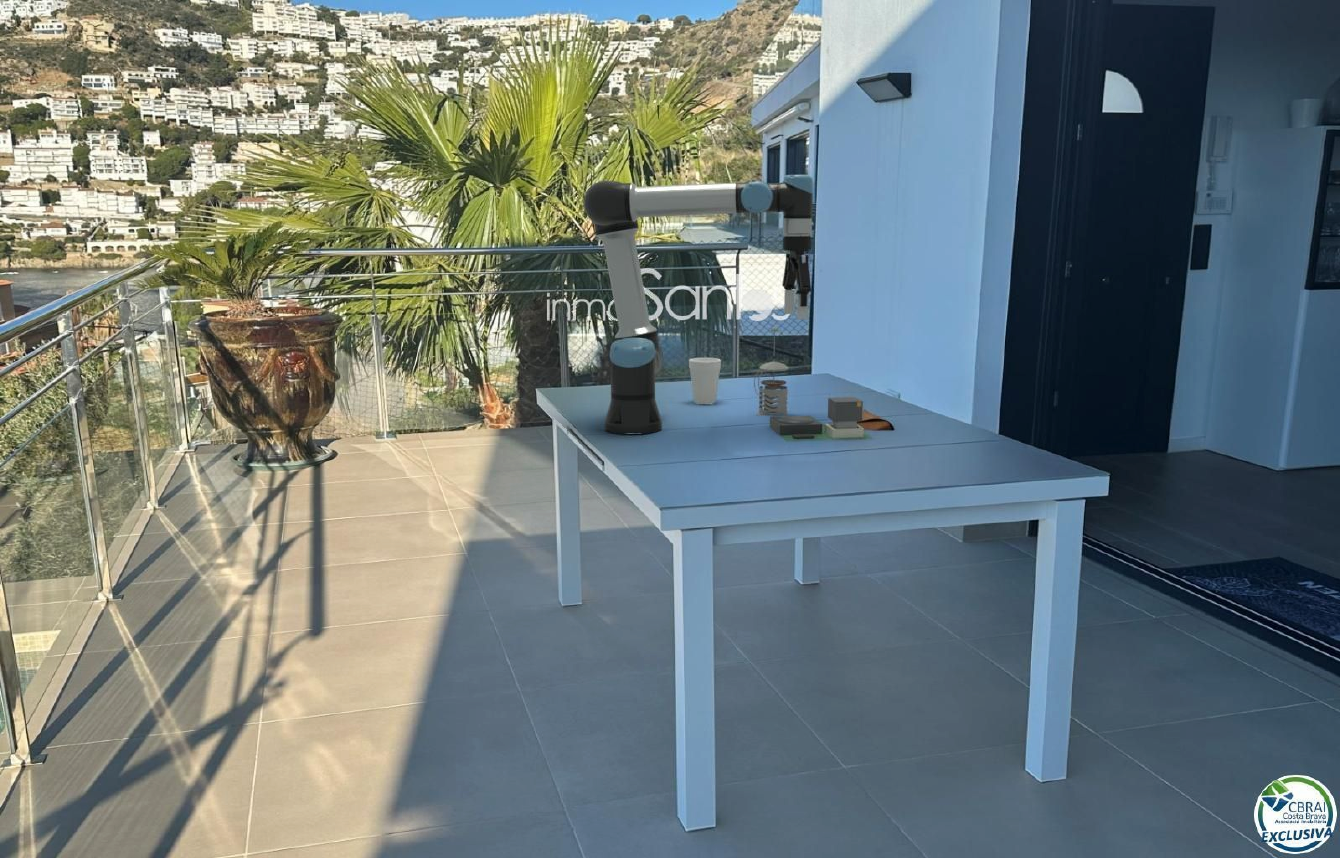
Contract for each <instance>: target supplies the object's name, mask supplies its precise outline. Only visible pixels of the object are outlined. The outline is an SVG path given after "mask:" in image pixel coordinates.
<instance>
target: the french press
mask: <svg viewBox="0 0 1340 858" xmlns="http://www.w3.org/2000/svg"><path fill="white" fill-rule="evenodd" d="M770 331H771V332H773V355H775V351H776V350H775V349H776V348H775V346H776V345H775V344H776V343H775V342H776V339H775V337H776V336H775V335H776V332H779V331H778V328H777V327H776V326H773V327H771V329H770ZM759 369H760V371H758V372H757V373H756V374H755V376H754V380H753V386H754V391H755V393H756V395H757V396H758V397H759V401H758V403H759V405H758V407H759V408H758V412H757V414H756V416H779V415H780V416H781V415H783V416H785V415H786V416H787V415H789V413H788V410H787V409H788V406H787V405H788V387H787V386H785V385H786V384H787V381H786V380H783V379H780V380H779V379H775V372H786V371H788V370H789V367H788V366H787V365H786V364H784V363H781V362H778V361H776V360H773V361H770V362H766V363H764V364H762V365H760V366H759ZM767 372H772V373H773V374H772V379H763V380H761V381H760V378H761V377H765V376H766V375H767ZM763 373H765V374H763ZM758 374H759V376H758ZM757 376H758V378H757ZM756 378H757V379H758V381H757V386H758V390H759V393H758V392H757V389H756ZM760 384H762V385H761V386H760ZM763 385H764V388H763ZM763 403H764V404H763Z"/></svg>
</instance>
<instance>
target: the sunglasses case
mask: <svg viewBox="0 0 1340 858" xmlns="http://www.w3.org/2000/svg"><path fill="white" fill-rule="evenodd" d="M857 424H858V425H859V426H861V427H862V428H864V431H872V432H873V431H876V432H877V431H878V432H881V431H895V427H894V425H893V424H892V423H891V422H890V421H889V420H887V419H883V418H881V416H878V415H876V414H874V413H871V412H869V411H867V409H865V408H863V410H862V421H857Z"/></svg>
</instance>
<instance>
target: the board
mask: <svg viewBox="0 0 1340 858" xmlns="http://www.w3.org/2000/svg"><path fill="white" fill-rule="evenodd" d="M825 424H826V423H824V424H823V426H822V434H794V435H779V437H781V438H782V439H783V440H784V441H785V442H807V441H809V442H811V441H812V442H813V441H815V442H816V441H834V440H835V441H838V440H865V439H866V440H867V439H868V440H871V439H873V436H871V435H869V434H868V433H866V432H865V431H864V437H855V438H831V437H830V436H829V435H827V434H826V433H825V432H824V431H825ZM828 424H833V421H830V422H828ZM774 432H775V433H777V432H776V431H774ZM777 434H778V433H777Z"/></svg>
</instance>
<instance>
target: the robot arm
mask: <svg viewBox="0 0 1340 858" xmlns="http://www.w3.org/2000/svg"><path fill="white" fill-rule="evenodd" d="M813 181H814V180H813V177H812V176H810V175H808V174H786V175H785V176H784V177H783V181H782V182H777V183H775V182H763V181H761V180H756V181H755V180H753V181H746V182H745V181H743V182H722V183H721V182H719V183H717V182H716V183H701V184H700V183H695V184H693V183H692V184H674V185H673V184H671V185H650V186H638V185H636V184H635V183H634V182H629V183H627V182H621V181H617V180H614V181H611V180H602V181H601V180H600V181H598V182H596V183H594V184H591V186H590V187H589V188H588V190H587V191H586V193H585V195H584V198H583V209H584V212H585V213H586V215H587V217H588V218H589V220H590V221H591V222H592V223H593V225H594V231H595V232H594V233H595V236H596V238H597V239H599V240H600V241H601V242H602V244H603V248H604V255H605V258H606V264H607V265H606V266H607V270H608V274H609V277H608V278H609V281H610V286H611V292H612V293H611V294H612V296H613V297H612V299H613V303H614V307H615V312H616V313H615V314H616V318H617V324H618V325H617V326H618V332H616V334H615V335H614V339H615V341H613V342H612V343H611V345H610V352H609V355H608V356H609V359H610V360H609V361H610V362H609V363H610V364H609V365H610V368H609V369H610V370H609V371H610V402H609V406H608V409H607V412H606V415H605V420H604V430H605V429H606V430H607V432H608V431H610V432H609V433H612V432H614V433H613V434H618V433H646V434H651V433H650V432H653V433H656V432H655V431H657V432H659V431H661V430H662V429H663V420H662V417H661V413H660V411H659V407H658V404H657V402H656V376H657V375H658V374H659V373H660V372H661V370H662V368H663V365H664V363H665V354H664V349H663V347H662V345H661V343H660V341H659V336H658V335H659V334H658V330H657V327H655V326H654V325H652V324H651V321H650V316H649V312H648V311H649V310H648V305H647V304H648V303H647V299H646V293H645V288H644V282H643V276H642V271H641V265H640V260H639V259H640V258H639V254H638V249H637V243H636V237H635V236H636V234H637V233H638V231H639V223H638V219H639V218H655V217H658V218H659V217H674V216H675V217H678V216H681V217H682V216H703V215H724V214H761V213H782V215H783V218H782V234H783V235H784V236H783V237H782V250H783V251H785V252H786V253H785V264H784V271H783V278H782V287H783V289H784V306H783V307H784V308H783V310H784V312H783V314H784V315H795V307H796V320H808V319H809V317H808V316H809V293H810V292H812V286H811V277H810V276H811V275H810V274H811V273H810V266H809V255H808V254H805V252H809V251H812V246H813V245H812V243H813V241H812V240H813V237H812V236H810V235H811V234H812V231H813V230H812V229H813V227H814V224H815V223H814V222H813V219H812V218H813V203H814V202H813V199H814V198H813V197H814V189H813V188H814V183H813ZM812 226H813V227H812ZM796 284H797V286H796ZM796 295H797V296H796ZM796 297H797V298H796ZM796 299H797V300H796ZM795 301H796V302H795ZM795 304H796V305H795ZM661 428H662V429H661ZM660 429H661V430H660ZM606 430H605V431H606ZM658 430H659V431H658Z"/></svg>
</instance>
